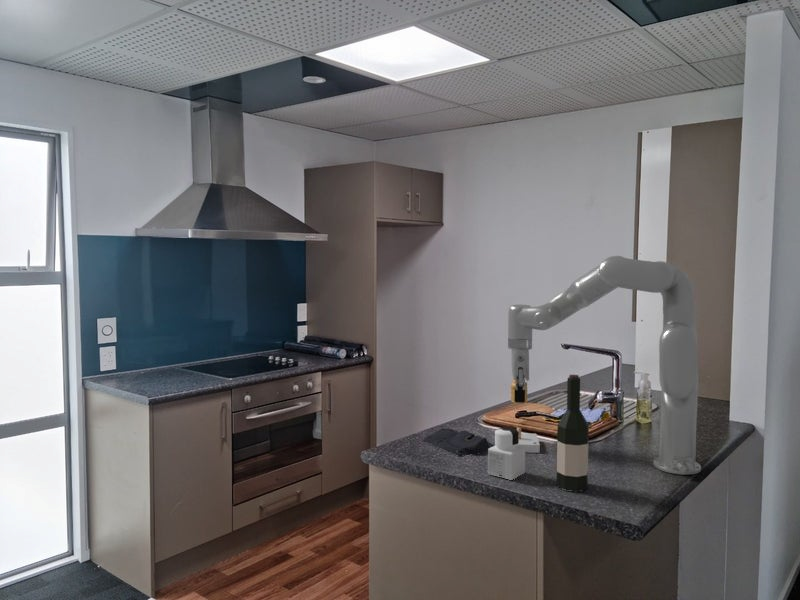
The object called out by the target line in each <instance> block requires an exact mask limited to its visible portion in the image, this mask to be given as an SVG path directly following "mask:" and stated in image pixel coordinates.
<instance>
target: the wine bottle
mask: <svg viewBox="0 0 800 600" xmlns="http://www.w3.org/2000/svg"><path fill="white" fill-rule="evenodd" d="M579 376H580V375H579V374H569V377H567V381H566V382H567V383H566V386H567V387H566V390H567V391H566V393H567V394H566V410H565V412H564V413H563V416H561V418H560V420H558V421H559V422H558V424H557V431H556V432H557V433H556V434H557V435H556V436H557V440H556V441H557V446H556V449H557V450H556V451H557V452H556V487H557V486H559V487H561V488H563V489H566V490H572V491H580V490H586V489H587V490H588V487H589V486H588V484H589V483H588V482H589V479H588V478H589V476H588V475H589V436H590V435H589V431H590V430H589V423H588V421H587V419H586V417H585V416H584V415H583V412H582V411H581V378H580V377H579ZM587 486H588V487H587Z"/></svg>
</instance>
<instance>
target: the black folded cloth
mask: <svg viewBox="0 0 800 600" xmlns="http://www.w3.org/2000/svg"><path fill="white" fill-rule="evenodd" d="M423 441H424V443H425V442H428V443H431V444H432V445H434V446H436V447H439V448H442V449H444V450H446V451H448V452H451V453H453V454H456V455H458V456H457V457H462V456H461V455H464V456H465V455H470V454H475V455H479V454H478V453H481V454H483V453H482V452H484V453H487V452H486V451H488V449H489V448H491V447H493V446H495V444H493V443H491V442H489V441H488V438H487V437H482V436H481V435H475V434H474V433H471V432H468V431H467V430H461V431H457V430H455V429H452V428H439V429H438V430H436V431H434V432H433V433H432V434H430V435H428V436H426V437H424V438H423V439H422V442H423ZM432 445H431V446H432ZM434 446H433V447H434ZM436 447H435V448H436ZM439 448H438V449H439ZM444 450H443V451H444ZM446 451H445V452H446ZM448 452H447V453H448ZM451 453H450V454H451ZM453 454H452V455H453ZM456 455H455V456H456ZM464 456H463V457H464Z"/></svg>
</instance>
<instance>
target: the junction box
mask: <svg viewBox="0 0 800 600" xmlns="http://www.w3.org/2000/svg"><path fill="white" fill-rule="evenodd" d="M516 430H517V431H518V432H519V445H518V446H521V447H525V453H531V454H532V453H533V454H536V453H537V454H540V452H541V451H540V448H541V446H540V445H541V443H540V441H539V437H538V434H537V433H528V432H527V433H525V432H523V433H522V427H520V426H519V427H516Z"/></svg>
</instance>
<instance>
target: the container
mask: <svg viewBox="0 0 800 600" xmlns="http://www.w3.org/2000/svg"><path fill="white" fill-rule="evenodd" d="M518 445H519V432H518V431H517V429H516V428H513V427H500V428H497V429H496V430H495V431H494V446H493V447H491V448H489V449H488V452H487V475H488V474H491V475H494V476H498V477H502V478H505V479H509V480H513V479H514V480H516V479H517V477H518V476H520V475H521V476H523V475H525V474H524V473H526V452H525V447H521V446H518ZM522 474H523V475H522ZM521 476H520V477H521ZM515 478H516V479H515ZM518 478H519V477H518ZM505 479H504V480H505ZM509 480H508V481H509ZM514 480H513V481H514Z"/></svg>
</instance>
